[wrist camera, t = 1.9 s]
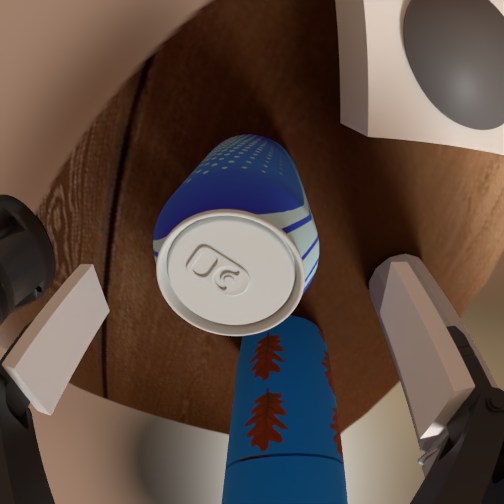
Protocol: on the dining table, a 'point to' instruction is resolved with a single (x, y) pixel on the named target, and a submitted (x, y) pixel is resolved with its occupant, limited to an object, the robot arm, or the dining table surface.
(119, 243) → the dining table surface
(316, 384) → the thermos
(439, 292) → the water bottle
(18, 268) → the robot arm
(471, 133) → the white block with disc
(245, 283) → the beer can
